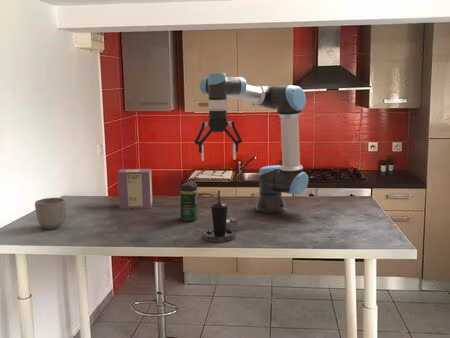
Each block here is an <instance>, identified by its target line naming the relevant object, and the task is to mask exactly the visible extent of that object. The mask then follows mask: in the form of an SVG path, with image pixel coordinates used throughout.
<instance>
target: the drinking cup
mask: <svg viewBox="0 0 450 338" xmlns="http://www.w3.org/2000/svg"><path fill="white" fill-rule="evenodd" d="M217 191H218V192H217V194H218V195H217V197H218V201H215V202H213V203H211V204H210V208H211V209H210V210H211V217H212V218H211V219H212V226H213V227H212V228H214V235H215V236H225V232H226V219H228V206H229V204H228V203H226V202H224V201H221V190H217Z"/></svg>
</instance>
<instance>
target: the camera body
mask: <svg viewBox="0 0 450 338" xmlns="http://www.w3.org/2000/svg"><path fill="white" fill-rule="evenodd" d="M226 228H229V229H232V230H234V231H235V232H238V231H239V222H238V219H236V218H234V217H233V216H231V217H227V218H226Z"/></svg>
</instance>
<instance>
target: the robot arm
mask: <svg viewBox="0 0 450 338" xmlns="http://www.w3.org/2000/svg"><path fill="white" fill-rule="evenodd" d="M199 90H200V92H201V93H203V94H205V95H208V109H209V111H208V122H207V121H202V122H201V126H200V129H199V131H198V133H197V134H196V137H195V140H194V141H193V142H194V144H195V145H198V153H200V154H201V161H202V162H204V161H205V160H204V159H205V158H204V157H205V154H204V153H205V151H204V150H205V148H204V144H203V143H204V142H205V141H206V140H207V139H208V138H209V136H210V135H211V134H212V133H218V132H219V133H223V132H225V134H226V135H227V136H228V137H229V138H230V139H231V141H233V142H234V143H233V144H232V159H233V160H235V161H236V160H237V159H236V158H237V157H236V152H239V144H241V143H243V140H242V137H241V135H240V134H239V132H238V130H237V128H236V126H235V125H236V124H235V121H234V120H231V121H228V116H227V115H228V114H227V112H228V111H227V110H226V109H228V108H227V105H228V104H227V99H228V98H230V99H236V100H240V101H247V102H250V103H252V104H253V105H256V106H259V107H260V106H261V107H264V108H267V109H271V110H276V111H277V112H276V113H277V115H278V116H279V118H280V132H281V133H280V134H281V136H280V137H281V156H282V157H281V158H282V159H281V160H282V165H279V164H277V165H275V164H274V165H266V166H263V167H261V168H259V175H258V183H259V191H258V192H259V196H258V198H257V201H256V204H255V208H256V209H255V211H257V212H261V213H267V214H268V213H269V214H270V213H271V214H275V213H281V212H284V211H285V210H286V204H285V201H284V198H283V195H282V193H285V194H290V195H295V196H296V195H297V196H298V195H302V194H303V193H304V192H305V191H306V189H307V187H308V186H309V175H308V174H307V172H305V171H304V166H303V165H302V164H301V161H300V159H301V157H300V155H301V154H300V153H301V152H300V133H299V132H300V129H299V128H300V127H299V116H300V115H301V114H302V110H303V109H304V108H305V106H306V103H307V97H306V94H305V91H304V90H303V88H302V87H300V86H298V85H293V84H290V85H286V84H285V85H277V84H276V85H261V84H260V85H259V84H257V85H254V86H253V85H250V84H248V83H247V80H246V79H245V78H244V77H242V76H227V74H226V72H209V74H208V76H207V77H203V78H202V79H201V80H200V81H199ZM228 125H229V127H231V129H232V131H233V132H234V135H235V136H236V138H237V139H236V138H235V137H234V136H233V135H232V133H230V131H229V130H228V129H227V127H228ZM207 126H208V127H209V129H208V130H207V132H206V133H205V134H204V135H203V136H202V134H203V132H204V130H205V128H206V127H207ZM201 136H202V138H201ZM200 138H201V139H200Z"/></svg>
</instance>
